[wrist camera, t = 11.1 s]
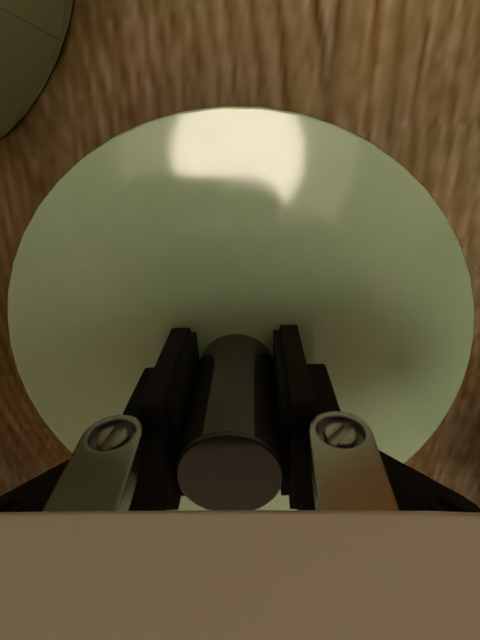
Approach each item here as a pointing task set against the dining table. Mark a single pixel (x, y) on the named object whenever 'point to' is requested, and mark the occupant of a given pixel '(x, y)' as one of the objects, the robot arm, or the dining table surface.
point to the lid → (241, 289)
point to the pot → (28, 52)
